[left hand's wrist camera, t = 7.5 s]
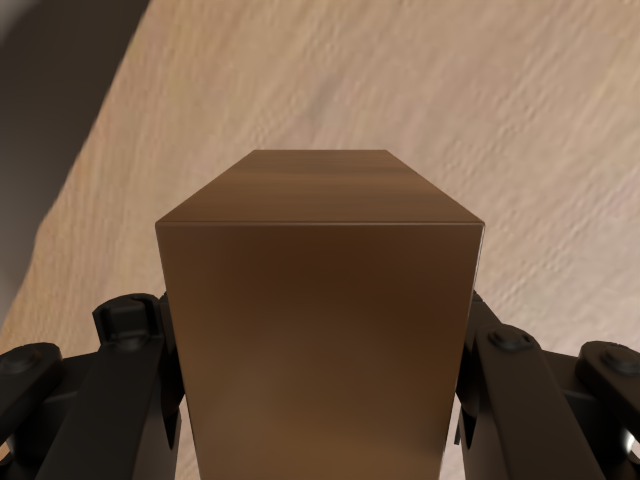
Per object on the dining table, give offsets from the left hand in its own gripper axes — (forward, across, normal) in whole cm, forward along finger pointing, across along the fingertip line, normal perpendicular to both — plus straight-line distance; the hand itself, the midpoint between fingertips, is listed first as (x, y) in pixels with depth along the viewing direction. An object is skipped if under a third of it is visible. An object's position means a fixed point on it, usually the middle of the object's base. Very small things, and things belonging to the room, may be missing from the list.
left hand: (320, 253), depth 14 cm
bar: (+1, 0, -8) cm, 8 cm away
